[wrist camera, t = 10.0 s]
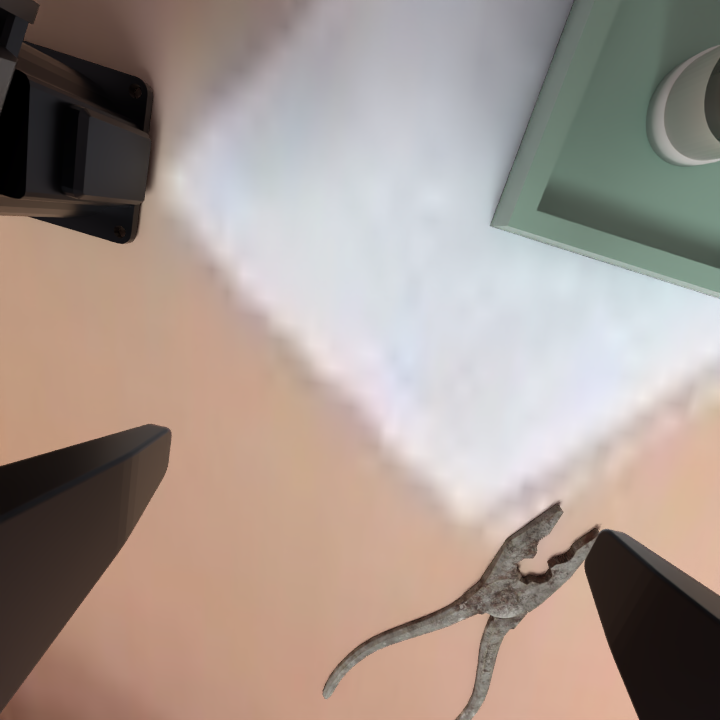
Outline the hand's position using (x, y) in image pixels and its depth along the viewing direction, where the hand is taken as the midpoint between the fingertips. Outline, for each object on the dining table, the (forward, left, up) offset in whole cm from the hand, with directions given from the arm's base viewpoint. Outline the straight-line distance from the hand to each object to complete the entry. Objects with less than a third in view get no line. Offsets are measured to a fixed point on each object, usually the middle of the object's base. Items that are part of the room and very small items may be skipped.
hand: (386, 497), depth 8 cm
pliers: (+9, -16, -13) cm, 22 cm away
